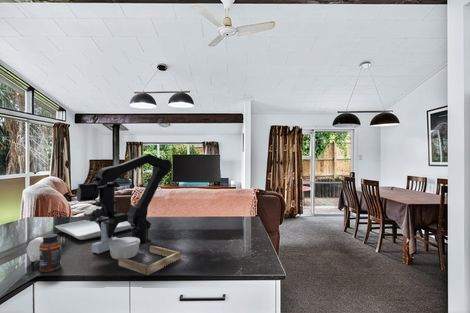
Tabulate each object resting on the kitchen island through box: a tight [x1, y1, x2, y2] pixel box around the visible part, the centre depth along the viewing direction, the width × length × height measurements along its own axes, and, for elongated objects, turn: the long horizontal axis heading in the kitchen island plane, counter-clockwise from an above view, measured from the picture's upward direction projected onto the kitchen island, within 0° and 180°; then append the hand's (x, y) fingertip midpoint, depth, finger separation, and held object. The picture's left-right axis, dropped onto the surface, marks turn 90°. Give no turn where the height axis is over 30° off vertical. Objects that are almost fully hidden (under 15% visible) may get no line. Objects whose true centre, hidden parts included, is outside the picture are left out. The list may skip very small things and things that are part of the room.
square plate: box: [54, 219, 132, 241], centre depth 131 cm, size 27×27×4 cm
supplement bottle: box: [39, 233, 62, 273], centre depth 87 cm, size 6×6×11 cm
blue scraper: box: [91, 220, 119, 254], centre depth 105 cm, size 4×10×11 cm, turn 150°
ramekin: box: [109, 236, 141, 260], centre depth 100 cm, size 11×11×5 cm
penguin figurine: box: [25, 236, 43, 262], centre depth 97 cm, size 6×8×12 cm
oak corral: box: [118, 245, 181, 276], centre depth 93 cm, size 15×14×2 cm
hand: (107, 237), depth 105 cm, fingers closed on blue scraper, 3 cm apart
